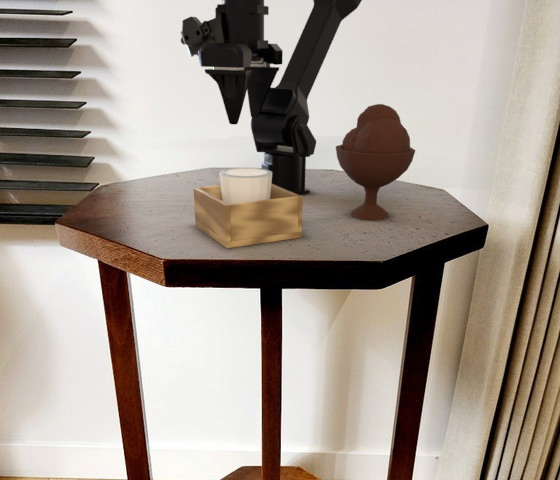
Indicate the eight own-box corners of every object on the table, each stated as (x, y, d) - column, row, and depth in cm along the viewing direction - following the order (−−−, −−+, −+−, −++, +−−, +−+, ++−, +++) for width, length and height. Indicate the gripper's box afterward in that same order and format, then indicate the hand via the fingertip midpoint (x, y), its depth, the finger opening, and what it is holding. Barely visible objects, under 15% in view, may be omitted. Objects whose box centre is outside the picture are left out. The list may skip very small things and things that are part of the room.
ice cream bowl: (319, 210, 91) (324, 102, 84) (382, 204, 95) (392, 100, 88) (354, 228, 83) (362, 110, 75) (421, 220, 87) (436, 107, 79)
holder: (264, 218, 87) (264, 180, 84) (301, 237, 79) (303, 196, 76) (195, 226, 83) (193, 187, 80) (226, 248, 74) (225, 205, 72)
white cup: (266, 234, 77) (266, 178, 73) (214, 231, 78) (212, 175, 75) (277, 220, 83) (277, 168, 79) (228, 217, 84) (227, 165, 80)
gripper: (214, 1, 91) (217, 112, 99) (157, -9, 76) (166, 125, 83) (284, 1, 89) (282, 115, 96) (240, -9, 73) (242, 129, 80)
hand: (244, 120), depth 89 cm, fingers open, 9 cm apart
